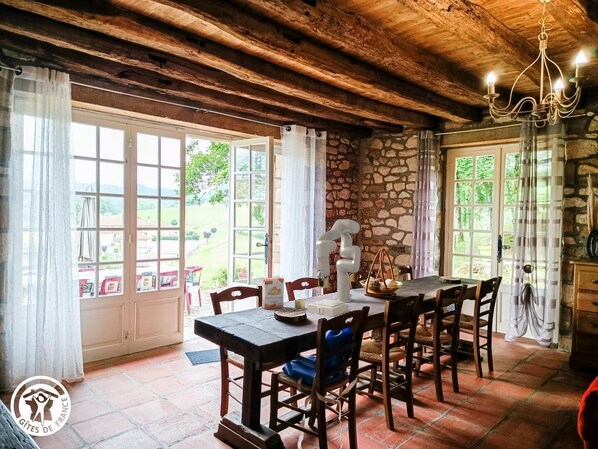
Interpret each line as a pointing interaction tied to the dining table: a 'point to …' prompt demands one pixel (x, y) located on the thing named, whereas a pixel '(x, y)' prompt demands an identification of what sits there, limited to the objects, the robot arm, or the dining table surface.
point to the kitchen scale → (328, 307)
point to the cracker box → (272, 293)
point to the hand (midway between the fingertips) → (323, 285)
